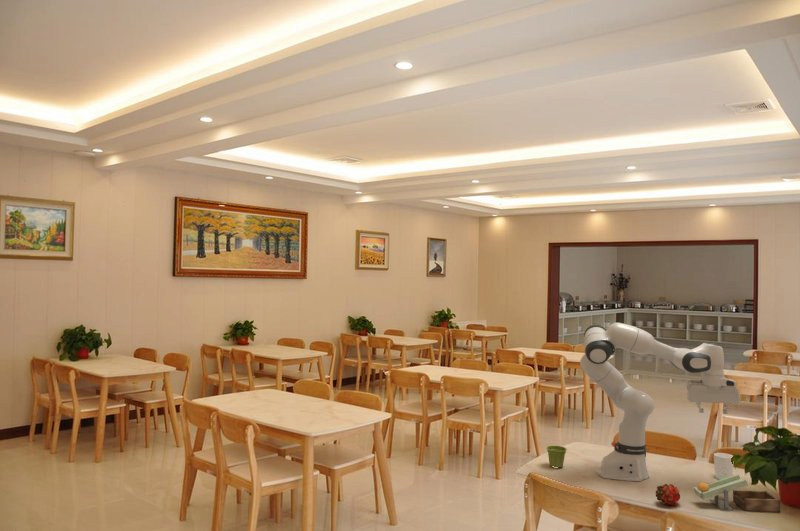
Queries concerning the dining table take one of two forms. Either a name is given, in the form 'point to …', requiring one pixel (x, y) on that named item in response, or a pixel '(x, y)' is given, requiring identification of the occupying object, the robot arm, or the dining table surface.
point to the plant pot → (556, 455)
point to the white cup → (723, 464)
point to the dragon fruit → (668, 494)
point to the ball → (703, 487)
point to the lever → (721, 486)
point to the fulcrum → (720, 503)
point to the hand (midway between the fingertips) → (713, 413)
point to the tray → (756, 501)
